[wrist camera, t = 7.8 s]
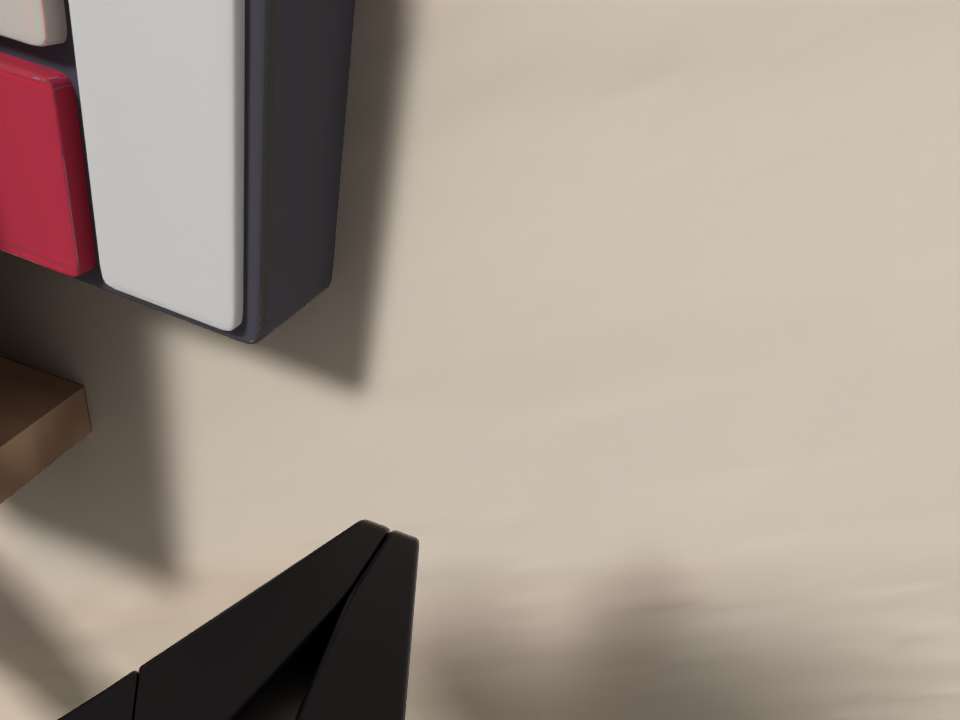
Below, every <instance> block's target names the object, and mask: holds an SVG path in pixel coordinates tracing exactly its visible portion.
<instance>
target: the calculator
mask: <svg viewBox="0 0 960 720" xmlns="http://www.w3.org/2000/svg"><path fill="white" fill-rule="evenodd" d="M354 4H355V0H0V250H2V251H4V252H7V253H10V254H12V255H15V256H17V257H20V258H23V259H25V260H28V261H31V262H33V263H36V264H38V265H41V266H44V267H46V268H49V269H51V270H54V271H57V272H59V273H62V274H65V275H68V276H71V277H73V278H76V279H79V280H81V281H84V282H86V283H89V284H92V285H94V286H97V287H99V288H102V289H105V290H107V291H110V292H113V293H115V294H118V295H120V296H123V297H126V298H128V299H131V300H133V301H136V302H139V303H141V304H144V305H146V306H149V307H152V308H154V309H157V310H160V311H162V312H165V313H167V314H170V315H173V316H175V317H178V318H180V319H183V320H186V321H188V322H191V323H193V324H196V325H199V326H201V327H204V328H207V329H209V330H212V331H214V332H217V333H220V334H222V335H225V336H227V337H230V338H233V339H235V340H238V341H241V342H244V343H248V344H254V343H257V342H259V341H260V340H262V339H263V338H264V337H266V336H267V335H268V334H270V333H271V332H272V331H273V330H275V329H276V328H277V327H278V326H280V325H281V324H282V323H283V322H285V321H286V320H287V319H288V318H290V317H291V316H292V315H293V314H295V313H296V312H297V311H298V310H300V309H301V308H302V307H303V306H305V305H306V304H307V303H308V302H310V301H311V300H312V299H313V298H315V297H316V296H317V295H318V294H320V293H321V292H322V291H323V290H324V289H326V288H327V287H328V286H329V284H330V282H331V278H332V268H333V257H334V245H335V233H336V221H337V209H338V197H339V185H340V173H341V161H342V149H343V137H344V125H345V113H346V100H347V88H348V76H349V64H350V52H351V40H352V28H353V16H354Z"/></svg>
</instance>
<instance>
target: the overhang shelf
mask: <svg viewBox="0 0 960 720" xmlns="http://www.w3.org/2000/svg"><path fill="white" fill-rule="evenodd" d="M90 431H91V428H90V422H89V415H88V409H87V402H86V396H85V390H84V386H81V385H78V384H75V383H73V382H70V381H67V380H64V379H61V378H59V377H56V376H53V375H50V374H47V373H45V372H42V371H39V370H36V369H33V368H31V367H28V366H25V365H22V364H19V363H16V362H14V361H11V360H8V359H5V358H2V357H0V504H1V503H2V502H3V501H4V500H6V499H7V498H8V497H9V496H11V495H12V494H13V493H14V492H16V491H17V490H18V489H19V488H21V487H22V486H23V485H24V484H26V483H27V482H28V481H29V480H31V479H32V478H33V477H34V476H36V475H37V474H38V473H39V472H41V471H42V470H43V469H44V468H46V467H47V466H48V465H49V464H51V463H52V462H53V461H54V460H56V459H57V458H58V457H59V456H60V455H62V454H63V453H64V452H65V451H67V450H68V449H69V448H70V447H72V446H73V445H74V444H75V443H77V442H78V441H79V440H80V439H82V438H83V437H84V436H85V435H87V434H88V433H89V432H90Z"/></svg>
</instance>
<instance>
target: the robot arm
mask: <svg viewBox="0 0 960 720" xmlns="http://www.w3.org/2000/svg"><path fill="white" fill-rule="evenodd" d="M418 554H419V540H418V539H417V538H415V537H413V536H410V535H407V534H404V533H402V532H399V531H395V530H394V531H392V532H390V530H389V528H387V527H385V526H383V525H380V524H377V523H374V522H372V521H369V520H361V521H359V522H357V523H356V524H354V525H353V526H351V527H350V528H348V529H346V530H345V531H343V532H342V533H340V534H339V535H337V536H336V537H334V538H333V539H331V540H330V541H328V542H327V543H325V544H324V545H322V546H321V547H319V548H318V549H316V550H315V551H313V552H312V553H310V554H309V555H307V556H306V557H304V558H303V559H301V560H300V561H298V562H297V563H295V564H294V565H292V566H291V567H289V568H288V569H286V570H285V571H283V572H282V573H280V574H279V575H277V576H276V577H274V578H273V579H271V580H270V581H268V582H267V583H265V584H264V585H262V586H261V587H259V588H258V589H256V590H255V591H253V592H252V593H250V594H249V595H247V596H246V597H244V598H243V599H241V600H240V601H238V602H237V603H235V604H234V605H232V606H231V607H229V608H228V609H226V610H225V611H223V612H222V613H220V614H219V615H217V616H216V617H214V618H213V619H211V620H210V621H208V622H207V623H205V624H204V625H202V626H201V627H199V628H198V629H196V630H195V631H193V632H192V633H190V634H189V635H187V636H186V637H184V638H183V639H181V640H180V641H178V642H177V643H175V644H174V645H172V646H171V647H169V648H168V649H166V650H165V651H163V652H161V653H160V654H158V655H157V656H155V657H154V658H152V659H151V660H149V661H148V662H146V663H145V664H143V665H142V666H141V667H140V668H139V673H138V672H137V671H132V672H131V673H129V674H128V675H126V676H125V677H123V678H122V679H120V680H119V681H117V682H116V683H114V684H113V685H111V686H110V687H109V688H107V689H105V690H104V691H102V692H101V693H99V694H98V695H96V696H94V697H93V698H91V699H90V700H88V701H86V702H85V703H83V704H82V705H80V706H79V707H77V708H75V709H74V710H72V711H71V712H69V713H67V714H66V715H64V716H63V717H61V718H59V719H58V720H405V712H406V700H407V688H408V676H409V664H410V651H411V639H412V627H413V615H414V603H415V591H416V578H417V566H418Z"/></svg>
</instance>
